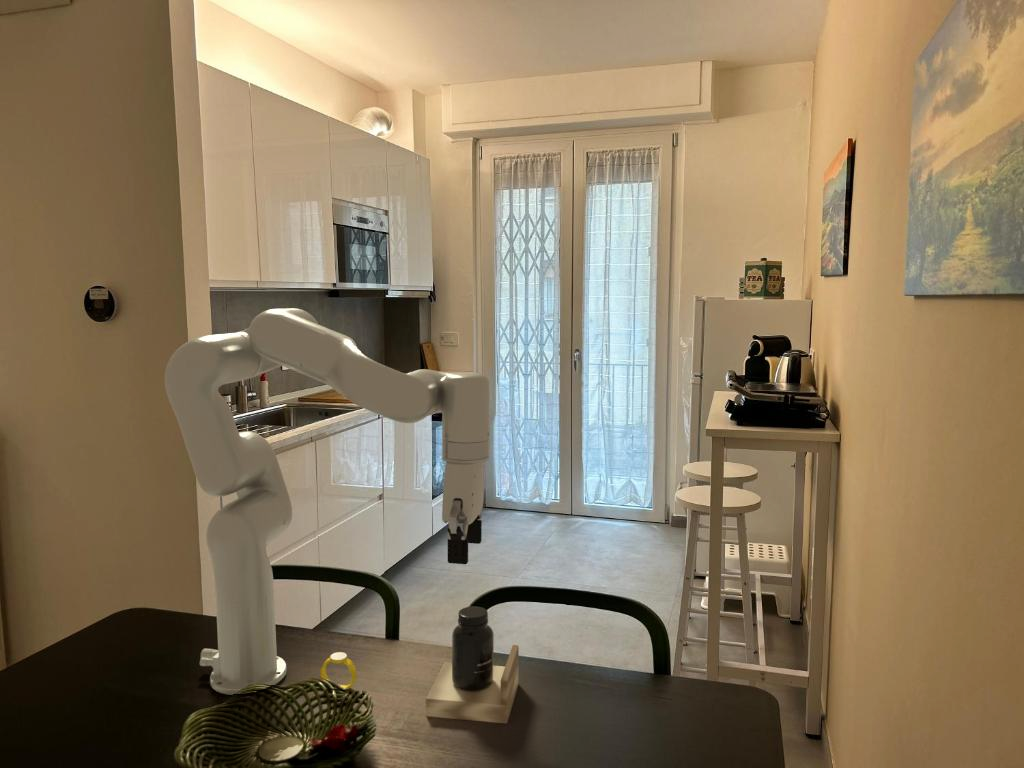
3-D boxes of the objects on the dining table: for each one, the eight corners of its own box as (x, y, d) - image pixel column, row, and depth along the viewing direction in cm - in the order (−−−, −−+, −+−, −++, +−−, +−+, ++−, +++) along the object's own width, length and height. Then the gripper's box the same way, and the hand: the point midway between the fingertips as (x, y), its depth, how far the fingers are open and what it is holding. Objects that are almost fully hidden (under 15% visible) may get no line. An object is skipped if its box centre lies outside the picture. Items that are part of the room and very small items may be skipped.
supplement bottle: (487, 694, 119) (487, 622, 118) (446, 689, 121) (446, 618, 119) (498, 673, 126) (498, 605, 124) (459, 669, 127) (458, 601, 126)
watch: (357, 687, 128) (359, 655, 127) (351, 696, 125) (352, 662, 124) (325, 681, 129) (326, 649, 128) (318, 689, 126) (319, 656, 126)
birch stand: (426, 716, 118) (425, 674, 118) (444, 678, 130) (444, 639, 129) (507, 723, 116) (506, 681, 116) (518, 684, 128) (518, 645, 127)
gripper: (456, 438, 129) (455, 534, 131) (427, 460, 112) (428, 570, 114) (498, 440, 128) (497, 537, 130) (476, 463, 111) (475, 573, 113)
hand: (465, 552), depth 122 cm, fingers open, 9 cm apart
